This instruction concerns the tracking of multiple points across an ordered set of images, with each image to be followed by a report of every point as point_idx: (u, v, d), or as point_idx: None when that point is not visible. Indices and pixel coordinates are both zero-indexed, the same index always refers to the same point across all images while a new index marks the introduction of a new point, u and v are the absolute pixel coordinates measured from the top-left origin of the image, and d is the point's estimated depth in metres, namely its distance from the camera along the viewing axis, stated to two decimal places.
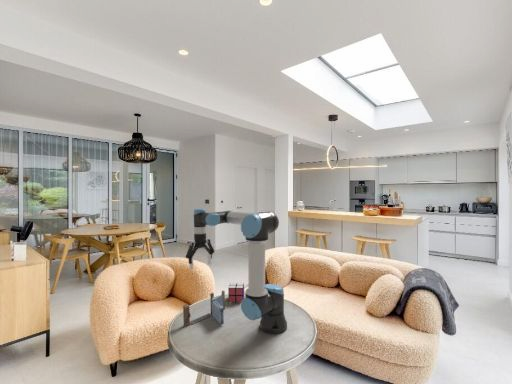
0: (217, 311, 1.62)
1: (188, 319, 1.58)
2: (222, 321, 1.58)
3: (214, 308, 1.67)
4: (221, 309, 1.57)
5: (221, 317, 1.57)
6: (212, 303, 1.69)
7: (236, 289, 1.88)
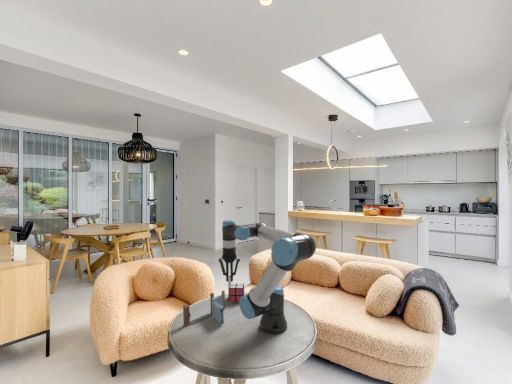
0: (217, 311, 1.62)
1: (188, 319, 1.58)
2: (222, 321, 1.58)
3: (214, 308, 1.67)
4: (221, 309, 1.57)
5: (221, 317, 1.57)
6: (212, 303, 1.69)
7: (236, 289, 1.88)
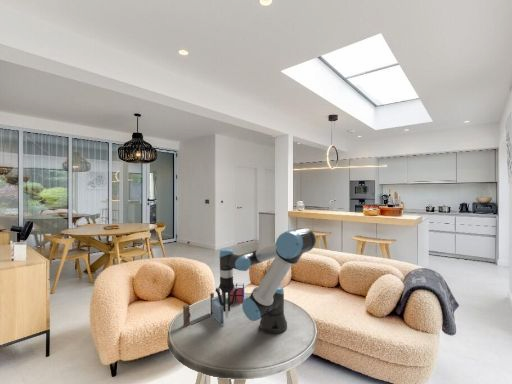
0: (217, 311, 1.62)
1: (188, 319, 1.58)
2: (222, 321, 1.58)
3: (214, 308, 1.67)
4: (221, 309, 1.57)
5: (221, 317, 1.57)
6: (212, 303, 1.69)
7: None
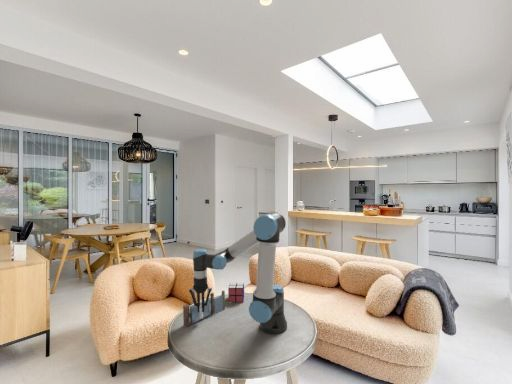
0: None
1: (188, 319, 1.58)
2: (191, 320, 1.59)
3: None
4: (190, 308, 1.59)
5: (190, 316, 1.59)
6: None
7: (236, 289, 1.88)
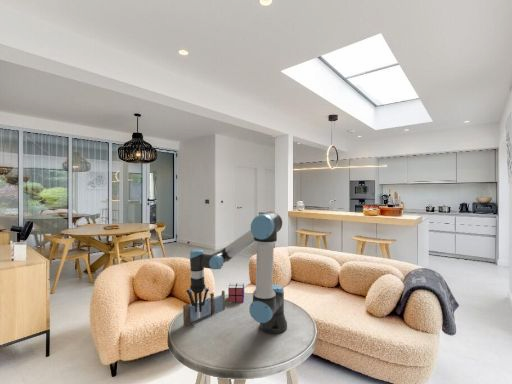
0: None
1: (188, 319, 1.58)
2: None
3: None
4: (189, 307, 1.60)
5: None
6: None
7: (236, 289, 1.88)
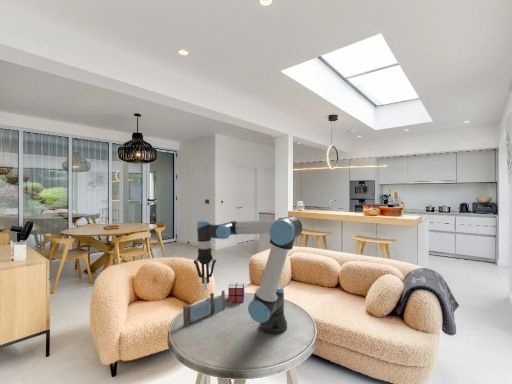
0: None
1: (188, 319, 1.58)
2: None
3: None
4: (189, 307, 1.60)
5: None
6: None
7: (236, 289, 1.88)
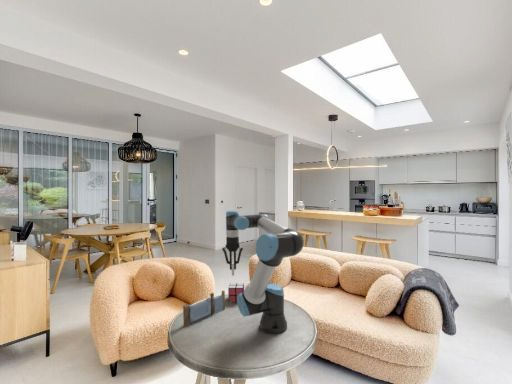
0: None
1: (188, 319, 1.58)
2: None
3: None
4: (189, 307, 1.60)
5: None
6: None
7: (236, 289, 1.88)
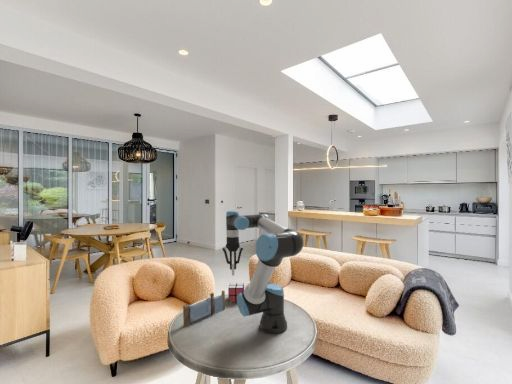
0: None
1: (188, 319, 1.58)
2: None
3: None
4: (189, 307, 1.60)
5: None
6: None
7: (236, 289, 1.88)
